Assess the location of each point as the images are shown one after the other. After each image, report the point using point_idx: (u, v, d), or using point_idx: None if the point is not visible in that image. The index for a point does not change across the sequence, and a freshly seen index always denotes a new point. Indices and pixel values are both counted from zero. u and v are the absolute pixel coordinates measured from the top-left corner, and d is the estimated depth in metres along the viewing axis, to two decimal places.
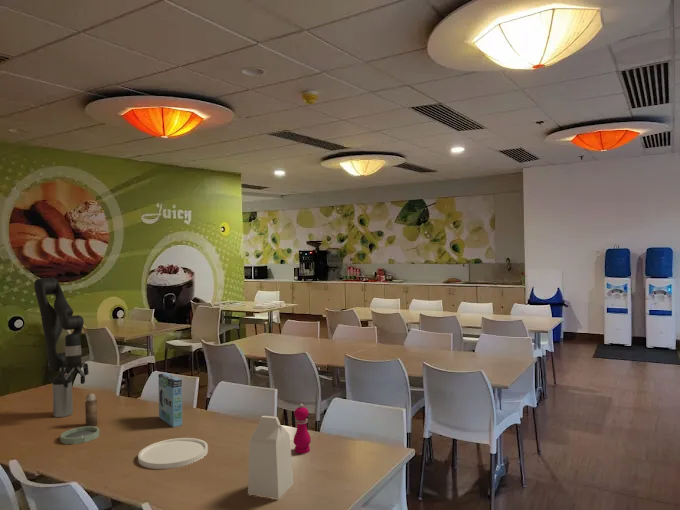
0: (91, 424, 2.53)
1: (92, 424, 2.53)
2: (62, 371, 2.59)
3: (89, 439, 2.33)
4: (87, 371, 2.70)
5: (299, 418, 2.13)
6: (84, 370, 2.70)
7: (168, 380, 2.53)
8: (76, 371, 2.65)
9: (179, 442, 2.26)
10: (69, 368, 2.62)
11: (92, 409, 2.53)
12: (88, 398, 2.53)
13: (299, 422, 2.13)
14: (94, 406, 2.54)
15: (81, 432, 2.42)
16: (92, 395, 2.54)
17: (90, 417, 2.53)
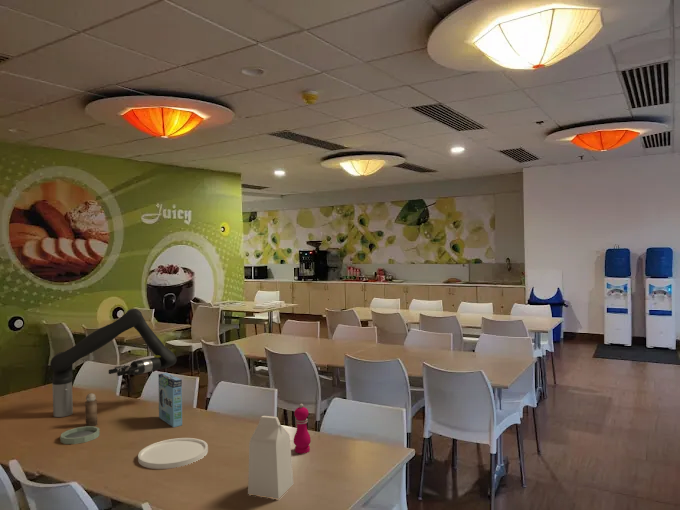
0: (91, 424, 2.53)
1: (92, 424, 2.53)
2: (135, 373, 2.68)
3: (89, 439, 2.33)
4: None
5: (299, 418, 2.13)
6: None
7: (168, 380, 2.53)
8: None
9: (179, 442, 2.26)
10: None
11: (92, 409, 2.53)
12: (88, 398, 2.53)
13: (299, 422, 2.13)
14: (94, 406, 2.54)
15: (81, 432, 2.42)
16: (92, 395, 2.54)
17: (90, 417, 2.53)
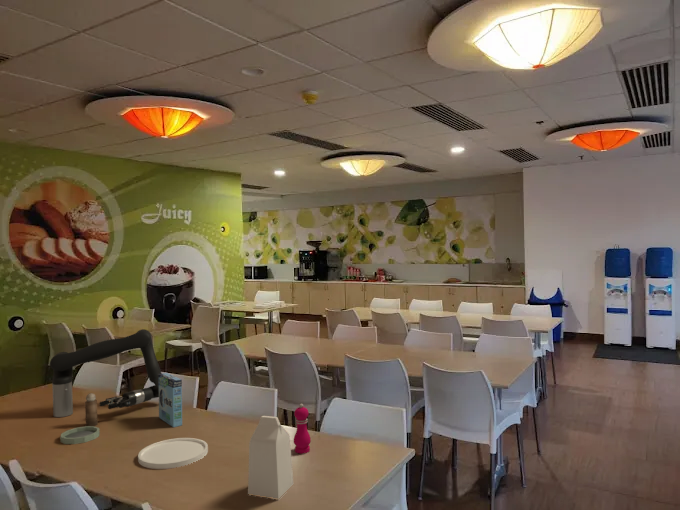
0: (91, 424, 2.53)
1: (92, 424, 2.53)
2: None
3: (89, 439, 2.33)
4: None
5: (299, 418, 2.13)
6: None
7: (168, 380, 2.53)
8: None
9: (179, 442, 2.26)
10: None
11: (92, 409, 2.53)
12: (88, 398, 2.53)
13: (299, 422, 2.13)
14: (94, 406, 2.54)
15: (81, 432, 2.42)
16: (92, 395, 2.54)
17: (90, 417, 2.53)
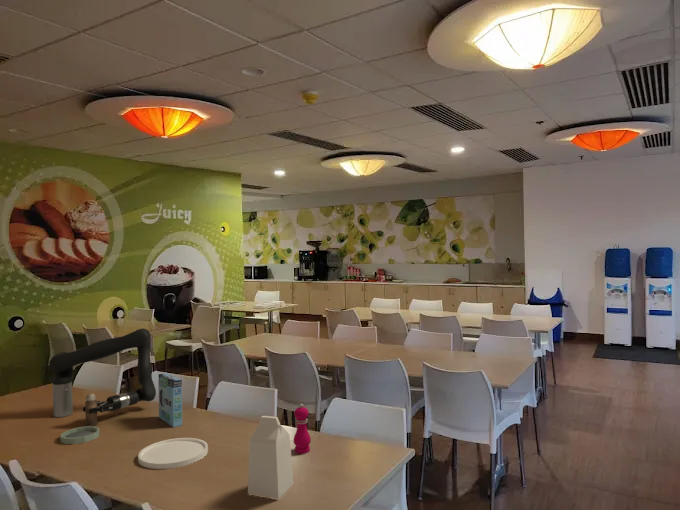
0: (91, 424, 2.53)
1: (92, 424, 2.53)
2: None
3: (89, 439, 2.33)
4: None
5: (299, 418, 2.13)
6: None
7: (168, 380, 2.53)
8: None
9: (179, 442, 2.26)
10: None
11: None
12: (88, 398, 2.53)
13: (299, 422, 2.13)
14: (94, 406, 2.54)
15: (81, 432, 2.42)
16: (92, 395, 2.54)
17: (90, 417, 2.53)
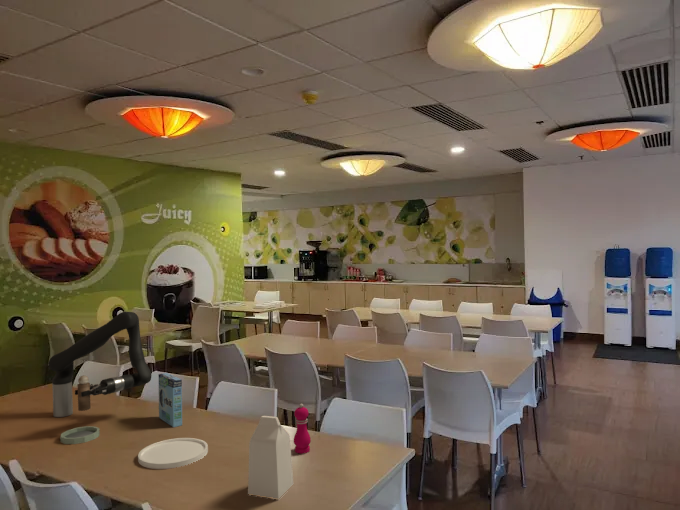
0: (84, 408, 2.40)
1: (85, 408, 2.40)
2: (102, 393, 2.43)
3: (89, 439, 2.33)
4: None
5: (299, 418, 2.13)
6: None
7: (168, 380, 2.53)
8: None
9: (179, 442, 2.26)
10: None
11: None
12: (80, 380, 2.40)
13: (299, 422, 2.13)
14: (87, 389, 2.41)
15: (81, 432, 2.42)
16: (85, 377, 2.41)
17: (83, 401, 2.40)
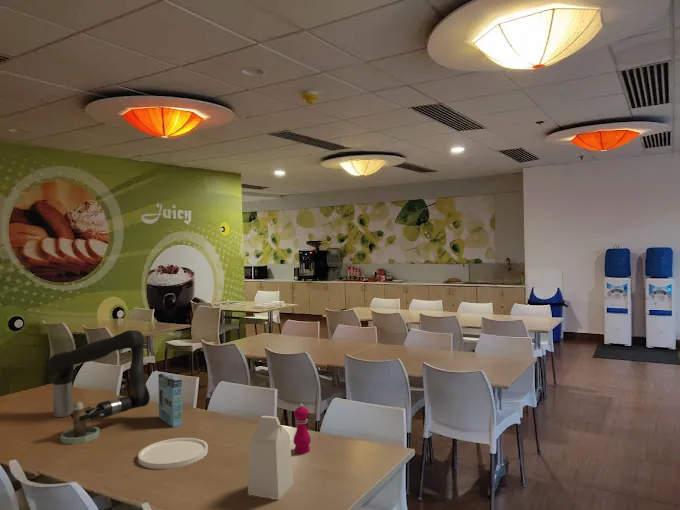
0: (80, 435, 2.35)
1: (81, 435, 2.36)
2: None
3: (89, 439, 2.33)
4: None
5: (299, 418, 2.13)
6: None
7: (168, 380, 2.53)
8: None
9: (179, 442, 2.26)
10: None
11: None
12: (75, 407, 2.35)
13: (299, 422, 2.13)
14: (82, 415, 2.36)
15: None
16: (80, 404, 2.36)
17: (78, 428, 2.35)
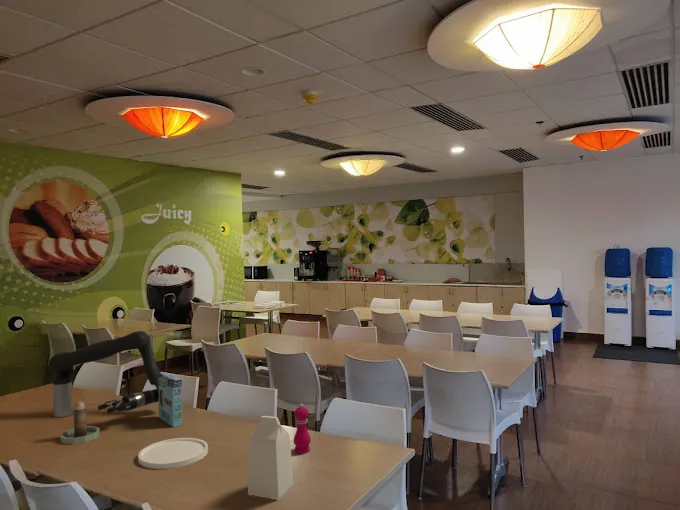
0: (80, 435, 2.36)
1: (81, 435, 2.36)
2: None
3: (89, 439, 2.33)
4: None
5: (299, 418, 2.13)
6: (109, 402, 2.56)
7: (168, 380, 2.53)
8: None
9: (179, 442, 2.26)
10: None
11: (81, 419, 2.36)
12: (77, 407, 2.36)
13: (299, 422, 2.13)
14: (83, 415, 2.37)
15: None
16: (81, 404, 2.37)
17: (79, 428, 2.35)
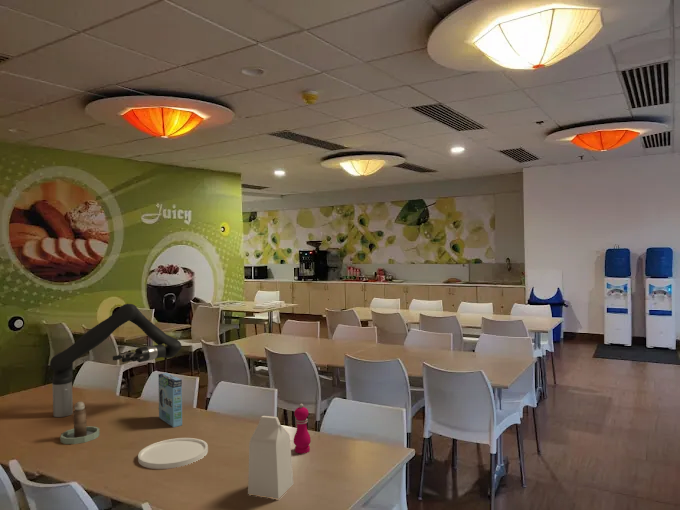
0: (80, 435, 2.36)
1: (81, 435, 2.36)
2: (140, 359, 2.61)
3: (89, 439, 2.33)
4: (121, 358, 2.67)
5: (299, 418, 2.13)
6: (123, 354, 2.67)
7: (168, 380, 2.53)
8: None
9: (179, 442, 2.26)
10: None
11: (81, 419, 2.36)
12: (76, 407, 2.36)
13: (299, 422, 2.13)
14: (83, 415, 2.37)
15: None
16: (81, 404, 2.37)
17: (79, 427, 2.35)
